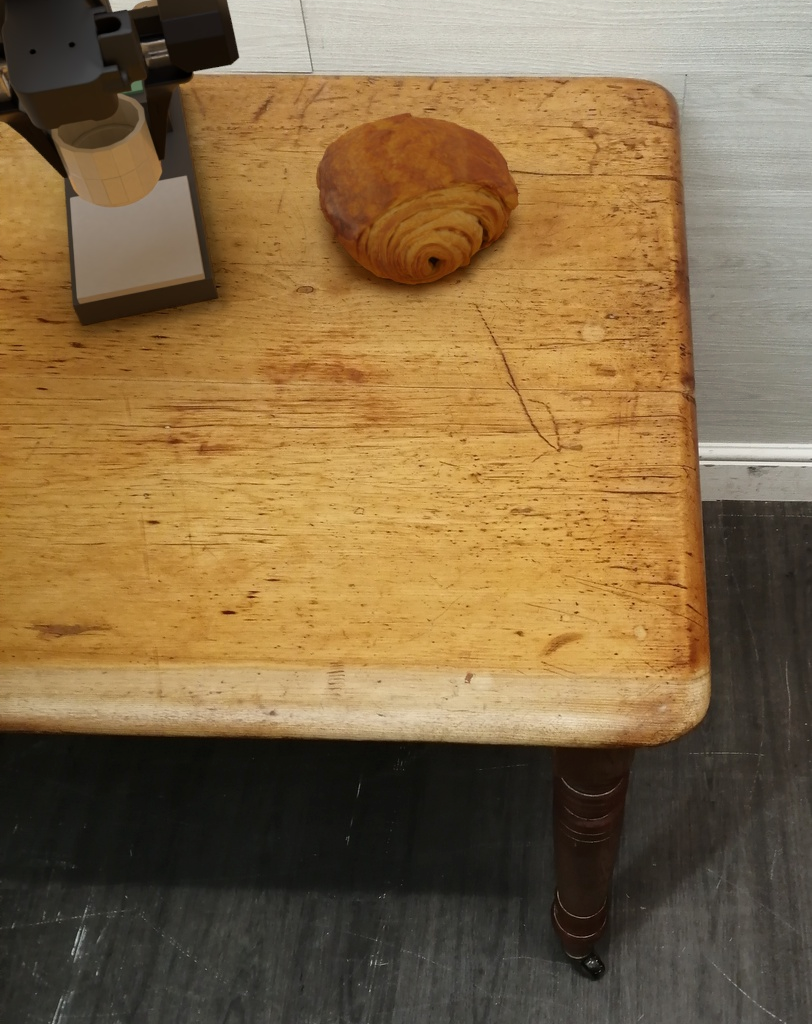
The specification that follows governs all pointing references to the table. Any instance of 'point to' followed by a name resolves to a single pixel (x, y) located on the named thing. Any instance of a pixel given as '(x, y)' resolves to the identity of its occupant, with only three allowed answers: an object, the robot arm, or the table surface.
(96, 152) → the bowl
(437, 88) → the table surface
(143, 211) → the scale
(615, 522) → the table surface
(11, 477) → the table surface
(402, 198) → the croissant
